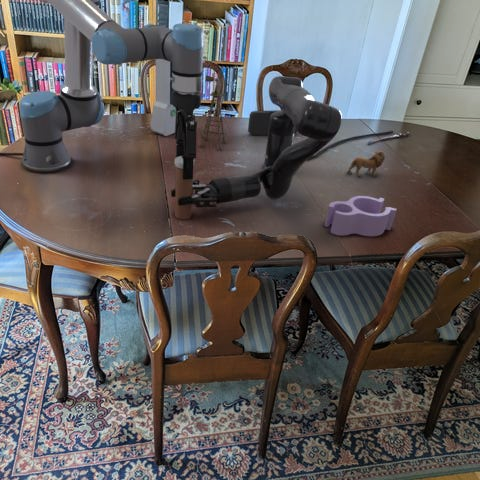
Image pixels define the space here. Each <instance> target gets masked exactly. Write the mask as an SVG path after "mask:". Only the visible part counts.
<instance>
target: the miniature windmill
mask: <svg viewBox="0 0 480 480" xmlns="http://www.w3.org/2000/svg"><path fill="white" fill-rule="evenodd" d="M219 72H220V73H219V75H217V78H214V77H213V76H210V75H205V83H207V82H208V83H212V82H215V88H214V91H211V93H210V94H209V96H211V97H212V99H211V101H210V103H211V104H210V106H209V110H208V113H207V118H206V122H205V124H204V129H203V131H202V132H203V133H202V136H201V141H200V145H199V147H202V146H203V143H204V139H205V140H206V141H208V140H213V141H218V150H222V149H221V141H222V143H223V144H225V143H226V140H225V139H226V138H225V136H226V134H225V132H224V131H225V130H224V121H223V115H222V107H221V100H220V98H221V97H223V96H224V95H225V93H223V92H221V89H222V86H223V84H222V83H223V77H224V75H223V70H222V67H220V69H219ZM214 104H216V109H213V108H214ZM214 112H217V113H214ZM212 115H216V116H217V120H215V119H212ZM211 122H216V123H217V125H216V124H211ZM210 127H216V128H217V132H216V131H211V130H209V129H210ZM220 128H221V131H220ZM209 133H211V134H217V138H213V137H208V136H209Z"/></svg>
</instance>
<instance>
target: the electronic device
mask: <svg viewBox="0 0 480 480" xmlns="http://www.w3.org/2000/svg"><path fill="white" fill-rule="evenodd" d="M170 77H173V75H172V62H169V61H166V60H163V59H155V101H154V103H153V105H152V110H151V111H152V113H151V119H150V125H149V126H150V128H151V131H152V132H153V133H154V134H157V135H160V136H163V137H168V136H171V135H172V134H175V121H176V109H175V107H174V106H173V105H172V91H173V88H172V81H170Z"/></svg>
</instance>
